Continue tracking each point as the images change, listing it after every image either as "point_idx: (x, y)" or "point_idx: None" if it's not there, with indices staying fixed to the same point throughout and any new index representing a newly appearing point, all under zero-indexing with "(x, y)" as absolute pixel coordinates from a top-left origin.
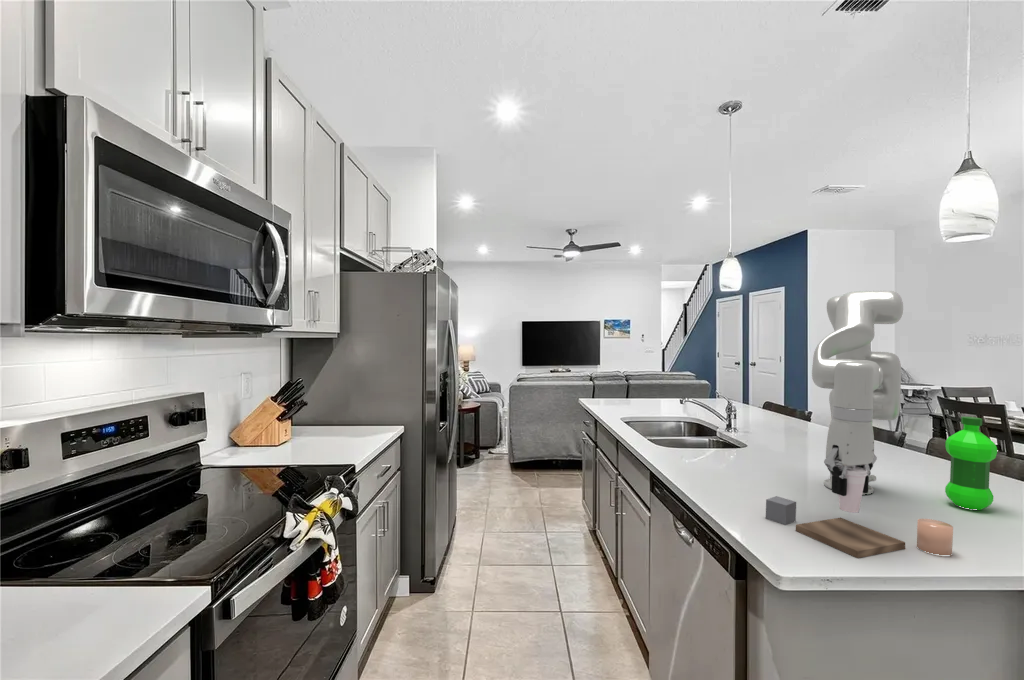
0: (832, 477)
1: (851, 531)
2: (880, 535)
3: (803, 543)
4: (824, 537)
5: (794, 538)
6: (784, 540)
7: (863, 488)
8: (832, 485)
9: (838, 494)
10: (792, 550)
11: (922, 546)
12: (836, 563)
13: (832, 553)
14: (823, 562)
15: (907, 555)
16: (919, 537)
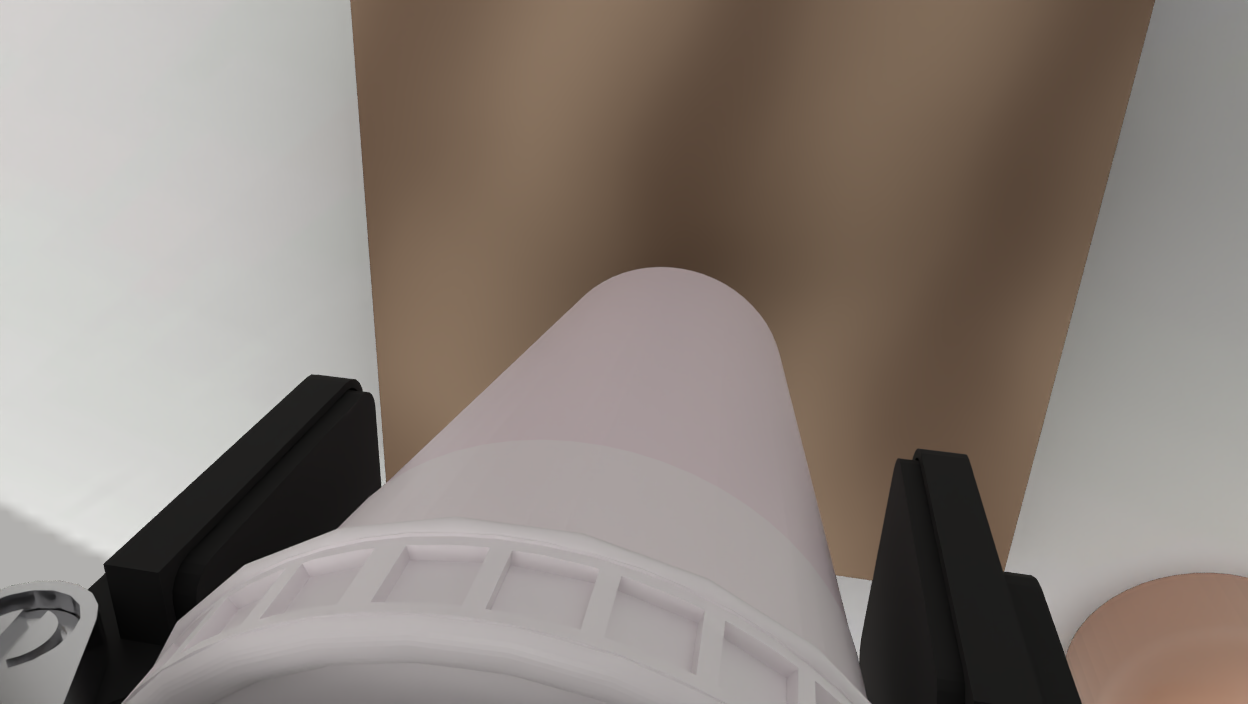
0: (144, 540)
1: (776, 254)
2: (956, 433)
3: (208, 127)
4: (370, 223)
5: (208, 9)
6: (79, 6)
7: (871, 674)
8: (255, 443)
9: (506, 369)
10: (16, 187)
11: (1086, 662)
12: (189, 455)
13: (296, 353)
14: (110, 410)
15: (849, 613)
16: (1126, 689)
